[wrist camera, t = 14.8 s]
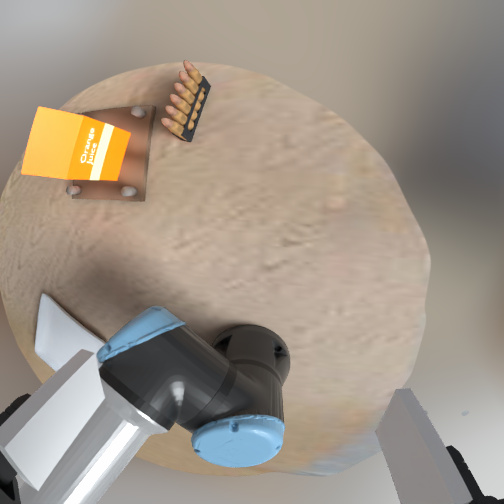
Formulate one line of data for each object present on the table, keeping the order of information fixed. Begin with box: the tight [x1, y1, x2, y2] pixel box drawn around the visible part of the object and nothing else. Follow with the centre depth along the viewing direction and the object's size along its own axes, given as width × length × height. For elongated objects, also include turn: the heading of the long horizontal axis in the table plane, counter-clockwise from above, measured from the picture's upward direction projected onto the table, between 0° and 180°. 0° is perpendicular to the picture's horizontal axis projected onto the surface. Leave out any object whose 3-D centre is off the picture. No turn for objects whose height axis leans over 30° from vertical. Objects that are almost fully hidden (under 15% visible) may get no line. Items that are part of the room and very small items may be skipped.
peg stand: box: [66, 105, 156, 202], centre depth 42 cm, size 17×16×4 cm
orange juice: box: [21, 107, 131, 181], centre depth 33 cm, size 8×9×20 cm
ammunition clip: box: [161, 60, 211, 142], centre depth 36 cm, size 11×2×12 cm, turn 163°
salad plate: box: [35, 293, 106, 372], centre depth 52 cm, size 21×21×3 cm
